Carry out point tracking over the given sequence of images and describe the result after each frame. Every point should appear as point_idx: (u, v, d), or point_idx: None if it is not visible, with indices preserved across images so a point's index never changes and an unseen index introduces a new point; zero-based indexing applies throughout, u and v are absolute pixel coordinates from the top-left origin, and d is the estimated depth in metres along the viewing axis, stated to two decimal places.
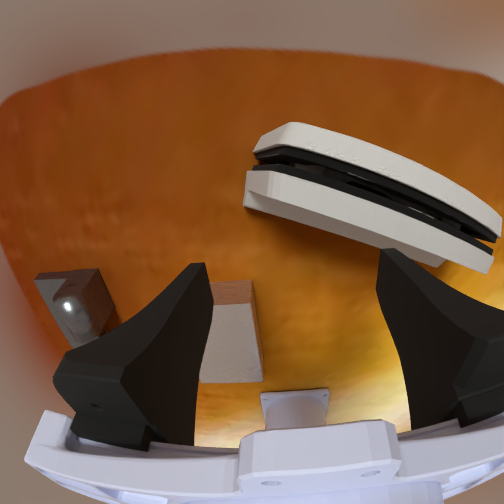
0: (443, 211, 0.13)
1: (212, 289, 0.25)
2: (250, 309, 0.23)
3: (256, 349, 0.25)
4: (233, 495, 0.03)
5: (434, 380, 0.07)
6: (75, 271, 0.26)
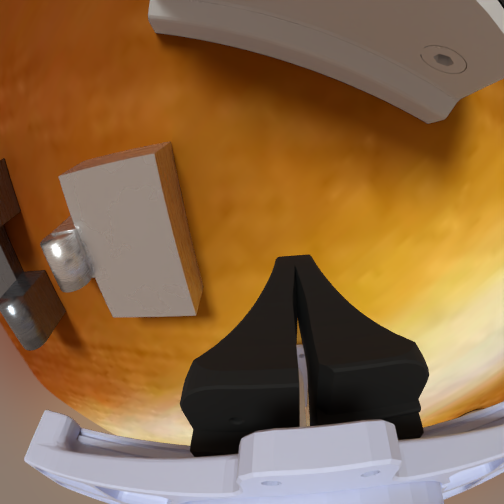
0: None
1: (115, 155, 0.16)
2: (155, 165, 0.14)
3: (174, 247, 0.16)
4: (233, 495, 0.03)
5: (312, 399, 0.07)
6: None
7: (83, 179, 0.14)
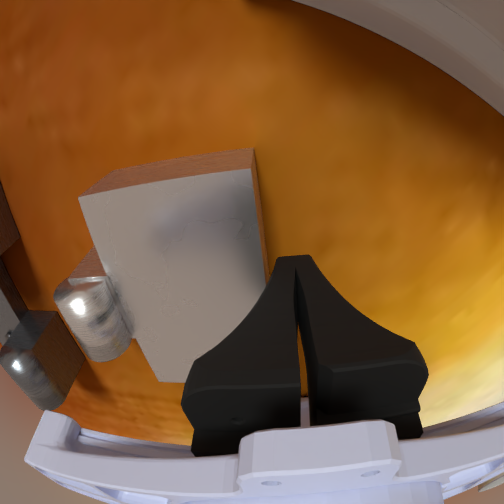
0: None
1: (168, 165, 0.11)
2: (251, 188, 0.09)
3: None
4: (233, 495, 0.03)
5: (312, 399, 0.07)
6: None
7: (121, 204, 0.10)
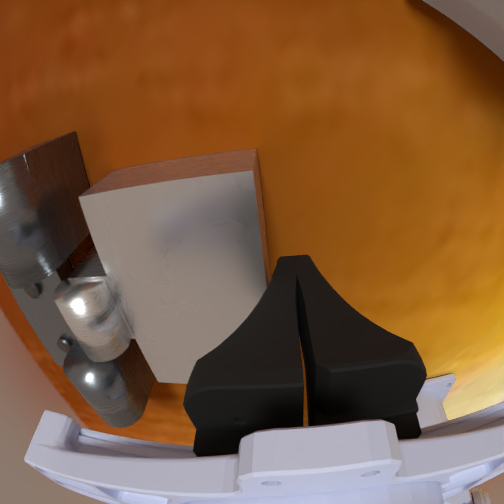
0: None
1: (170, 165, 0.11)
2: (253, 191, 0.09)
3: None
4: (233, 495, 0.03)
5: (310, 399, 0.07)
6: (31, 147, 0.11)
7: (121, 205, 0.10)
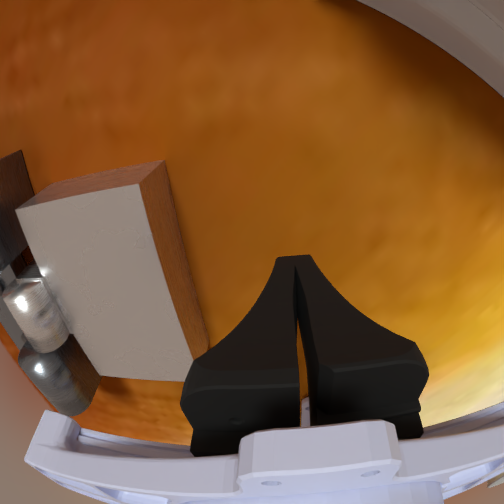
0: None
1: (89, 179, 0.11)
2: (141, 201, 0.10)
3: (172, 309, 0.12)
4: (233, 495, 0.03)
5: (312, 399, 0.07)
6: None
7: (45, 216, 0.10)
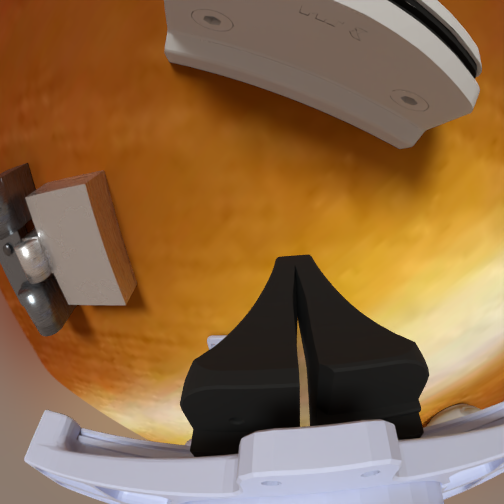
0: None
1: (65, 181, 0.20)
2: (86, 192, 0.18)
3: (104, 252, 0.20)
4: (233, 495, 0.03)
5: (312, 399, 0.07)
6: (8, 170, 0.20)
7: (41, 200, 0.18)
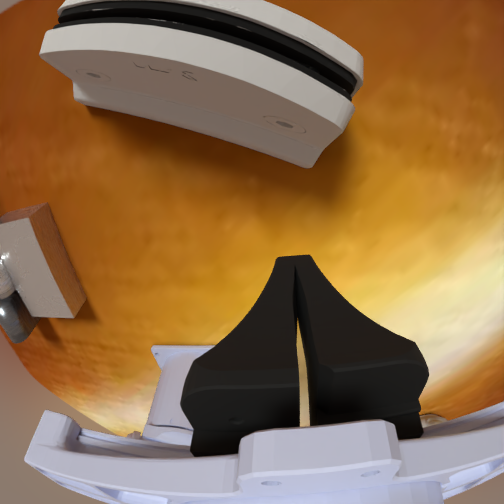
0: (203, 17, 0.09)
1: (19, 212, 0.21)
2: (30, 224, 0.20)
3: (50, 273, 0.22)
4: (233, 495, 0.03)
5: (312, 399, 0.07)
6: None
7: (0, 230, 0.20)
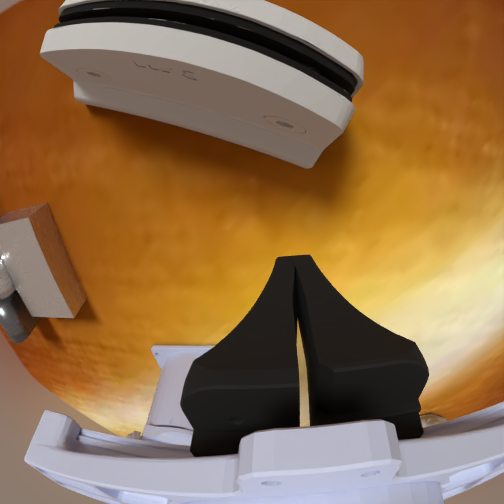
0: (203, 16, 0.09)
1: (19, 212, 0.21)
2: (30, 224, 0.20)
3: (50, 273, 0.22)
4: (233, 495, 0.03)
5: (312, 399, 0.07)
6: None
7: (0, 230, 0.20)
